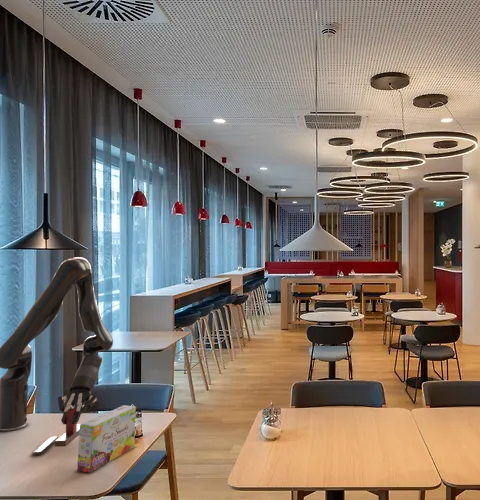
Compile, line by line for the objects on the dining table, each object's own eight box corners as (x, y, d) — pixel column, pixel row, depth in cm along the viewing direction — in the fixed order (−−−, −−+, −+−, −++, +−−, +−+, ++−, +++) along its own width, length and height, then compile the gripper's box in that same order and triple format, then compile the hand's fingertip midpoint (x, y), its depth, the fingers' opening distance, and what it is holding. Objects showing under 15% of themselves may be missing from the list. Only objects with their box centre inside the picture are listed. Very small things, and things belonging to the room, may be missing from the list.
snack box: (91, 473, 147) (93, 425, 147) (76, 471, 148) (78, 424, 148) (135, 447, 168) (136, 405, 168) (121, 445, 169) (123, 404, 169)
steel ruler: (32, 455, 159) (32, 452, 159) (50, 440, 172) (50, 436, 173) (40, 455, 159) (40, 451, 159) (58, 439, 173) (58, 436, 173)
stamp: (54, 446, 158) (55, 417, 159) (76, 429, 174) (77, 402, 174) (65, 446, 159) (66, 417, 159) (86, 429, 175) (86, 402, 175)
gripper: (62, 374, 173) (43, 419, 161) (101, 374, 175) (86, 417, 163) (68, 385, 179) (51, 428, 166) (106, 384, 180) (92, 427, 168)
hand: (68, 423), depth 165 cm, fingers closed on stamp, 2 cm apart
